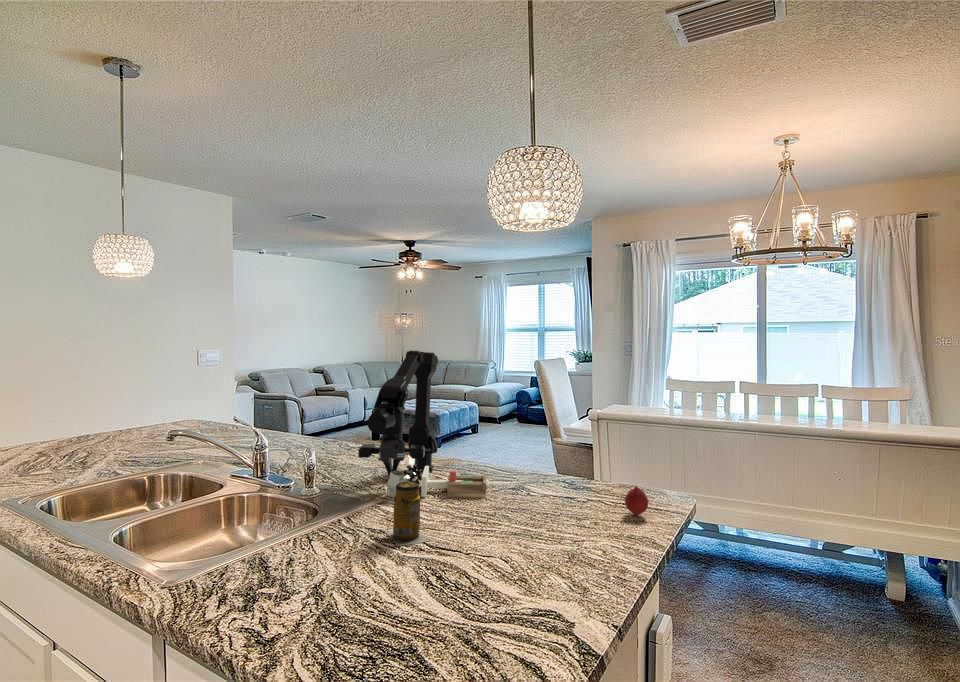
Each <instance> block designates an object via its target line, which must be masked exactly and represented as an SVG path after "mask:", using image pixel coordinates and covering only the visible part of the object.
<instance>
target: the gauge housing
mask: <svg viewBox="0 0 960 682" xmlns="http://www.w3.org/2000/svg"><path fill="white" fill-rule="evenodd" d="M481 474H482V475H473V474H460V475H459V474H458V475H457V474H456V480H463V481H461V482H459V481H448V488H446V489H447V490H446V491H447V496H446V497H447V498H476V499H477V498H483V499H484V498H485V499H486V498H487V480H486V479H487V478H486V474H485V473H481ZM447 480H450V474H449V475H448V479H447Z"/></svg>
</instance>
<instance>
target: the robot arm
mask: <svg viewBox="0 0 960 682" xmlns="http://www.w3.org/2000/svg"><path fill="white" fill-rule="evenodd" d="M438 365H439V359H438V356H437V355H436V354H435V352H427V351H425V352H424V351H422V350H408V351H406V353H405V358H404V359H403V361H402V363H401V364H400V366H399V367H398V369H397V371H396V373H395V374H394V376H393V377H392V378H390V379H387V380H386V381H385V382H384V383H383V385H382V386H381V387H380V389H379V390H378V391H379V392H378V394H377V397H376V400H375V404H374V405H373V411H374V412H373V413H372V414H370V415H369V416H368V418H367V421H366V423H367V427H368V430H369V431H370V432H371V433H373V434H376V435H377V434H381V433H382V437H381V440H380V446H379V447H376V444H375V443H363V444H362V445H361V446H360V447H359V448H358V453H357V454H358V456H357V457H358V458H364V459H365V458H366V459H369V458H370V457H371V456H372V455H378V459H377V460H378V461H379V462H380V461H381V462H382V463H383V465H384V467H385V469H386V472H387V473H386V474H388V480H389V479H390V478H389V477H390V472H392V471H398V470H397V469H398V468H399V464H400V462H403V461H404V460H405V459H406V456H407V455H409V457H410V458H411V459H413V460H414V465H417V470H419V469H421V470H422V473H423V471H424V468H425V466H429V473H431V472H433V469H434V465H432V462H433V459H432V458H433V456H432V455H433V454H437V453H438V449H439V444H438V442H437V439H436V437H435V435H434V434H435V431H434V428H433V426H432V424H431V422H430V413H431V411H430V410H431V389H432V386H431V382H432V378H433V376H434V375H435V373H436V372H437V367H438ZM414 376H415V378H416V387H415V388H416V389H415V390H416V391H415V412H414V415H415V416H414V423H413V424H412V426H410V427H409V429H408V436H407V443H408V445H407V446H408V447H406V442H405V440H403V435H404V434H403V431H404V430H403V429H404V427H403V426H404V425H403V424H404V423H403V422H404V415H403V414H404V411H405V410H406V407H405V404H406V401H407V400H408V397H409V389H408V387H409V384H410V382H411V381H412V379H413V378H414ZM392 459H393V460H392ZM413 472H414V473H417V472H416V471H414V470H412V473H413Z"/></svg>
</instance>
